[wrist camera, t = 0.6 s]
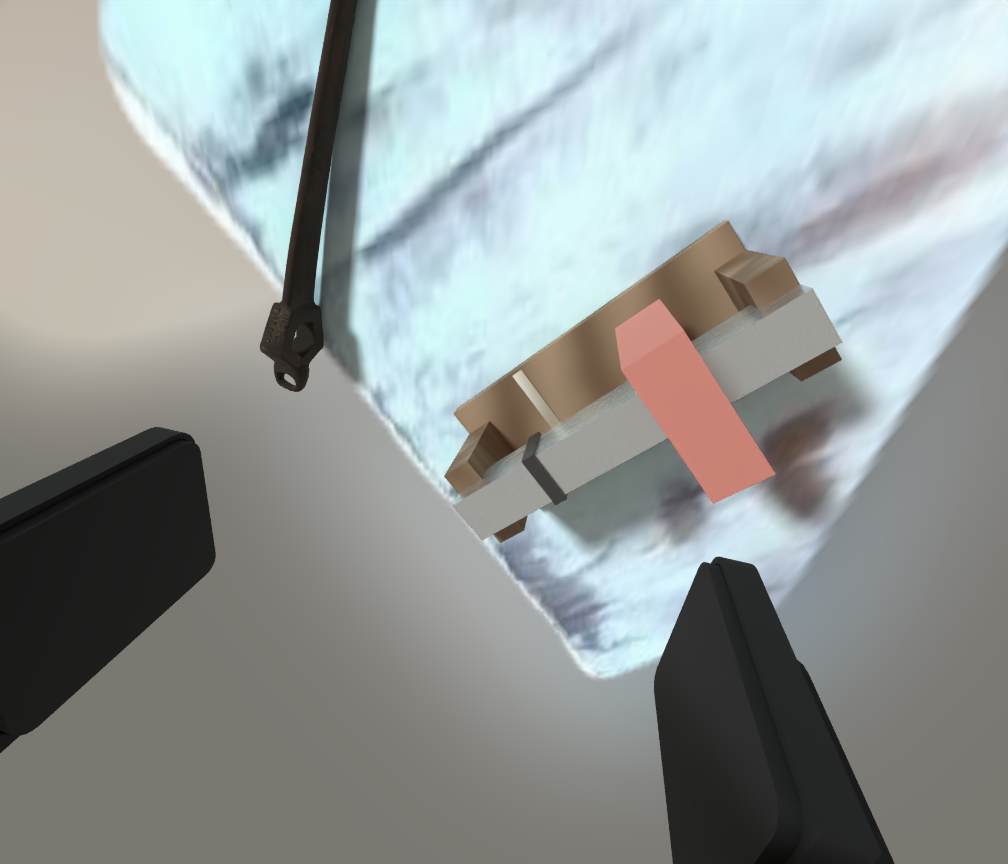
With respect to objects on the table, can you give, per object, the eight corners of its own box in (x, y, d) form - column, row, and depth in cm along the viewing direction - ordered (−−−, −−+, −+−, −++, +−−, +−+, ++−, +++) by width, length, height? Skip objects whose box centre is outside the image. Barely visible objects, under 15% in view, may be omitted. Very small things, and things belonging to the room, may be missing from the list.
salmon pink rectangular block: (659, 298, 28) (684, 330, 20) (727, 405, 30) (775, 474, 22) (614, 328, 29) (621, 370, 21) (683, 429, 31) (713, 503, 23)
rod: (785, 277, 24) (812, 285, 21) (815, 331, 25) (846, 346, 22) (463, 478, 33) (449, 505, 30) (493, 514, 33) (483, 544, 30)
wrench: (457, -63, 28) (348, 398, 39) (378, -89, 28) (292, 375, 39) (425, -133, 23) (311, 417, 34) (330, -163, 23) (248, 390, 34)
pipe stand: (723, 221, 29) (764, 221, 22) (799, 352, 32) (859, 391, 24) (457, 408, 38) (424, 452, 30) (532, 501, 40) (518, 563, 33)
